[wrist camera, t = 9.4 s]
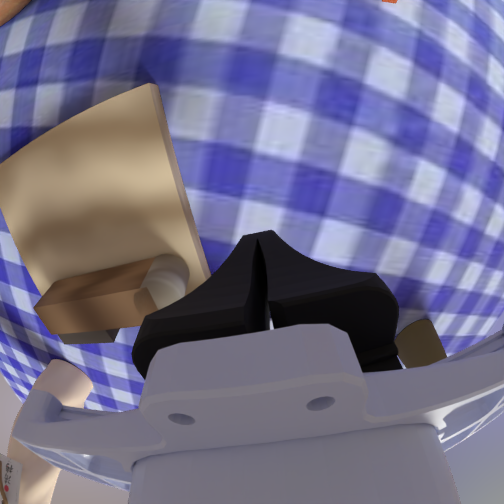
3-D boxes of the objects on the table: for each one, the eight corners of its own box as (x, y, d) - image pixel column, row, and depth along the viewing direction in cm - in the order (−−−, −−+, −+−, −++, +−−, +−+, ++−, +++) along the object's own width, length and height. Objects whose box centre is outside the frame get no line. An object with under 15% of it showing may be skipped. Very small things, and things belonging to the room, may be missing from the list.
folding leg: (181, 249, 20) (169, 281, 16) (195, 285, 21) (187, 320, 18) (53, 280, 21) (32, 307, 17) (69, 307, 22) (52, 335, 19)
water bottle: (31, 350, 29) (-30, 497, 5) (64, 347, 28) (-2, 527, 4) (70, 392, 34) (30, 529, 9) (107, 393, 33) (69, 553, 8)
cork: (383, 351, 30) (415, 424, 20) (414, 315, 27) (458, 388, 17) (412, 356, 31) (443, 420, 21) (440, 323, 28) (480, 387, 19)
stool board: (215, 286, 24) (208, 335, 19) (65, 309, 25) (41, 346, 20) (157, 85, 16) (124, 76, 11) (2, 167, 17) (-39, 186, 12)
